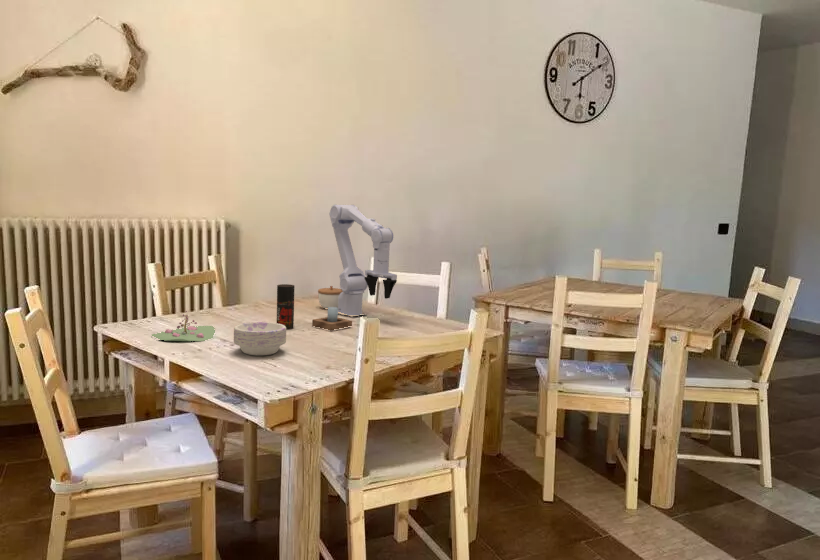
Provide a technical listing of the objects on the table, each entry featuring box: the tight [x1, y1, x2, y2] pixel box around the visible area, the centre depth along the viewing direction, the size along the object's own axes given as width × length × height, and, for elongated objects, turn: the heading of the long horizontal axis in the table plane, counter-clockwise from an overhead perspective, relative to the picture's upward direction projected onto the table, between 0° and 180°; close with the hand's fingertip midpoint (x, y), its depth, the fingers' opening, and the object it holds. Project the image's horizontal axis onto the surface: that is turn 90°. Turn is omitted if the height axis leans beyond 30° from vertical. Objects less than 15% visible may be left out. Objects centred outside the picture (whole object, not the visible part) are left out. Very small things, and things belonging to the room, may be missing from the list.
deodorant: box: [276, 283, 295, 331], centre depth 221 cm, size 6×6×15 cm
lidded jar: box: [317, 285, 343, 308], centre depth 260 cm, size 11×11×9 cm
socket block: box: [311, 316, 353, 330], centre depth 227 cm, size 10×10×2 cm
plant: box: [151, 310, 216, 342], centre depth 206 cm, size 25×21×9 cm
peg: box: [326, 307, 339, 322], centre depth 226 cm, size 4×4×7 cm
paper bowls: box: [233, 321, 287, 357], centre depth 188 cm, size 15×15×8 cm
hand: (379, 296), depth 237 cm, fingers open, 7 cm apart
